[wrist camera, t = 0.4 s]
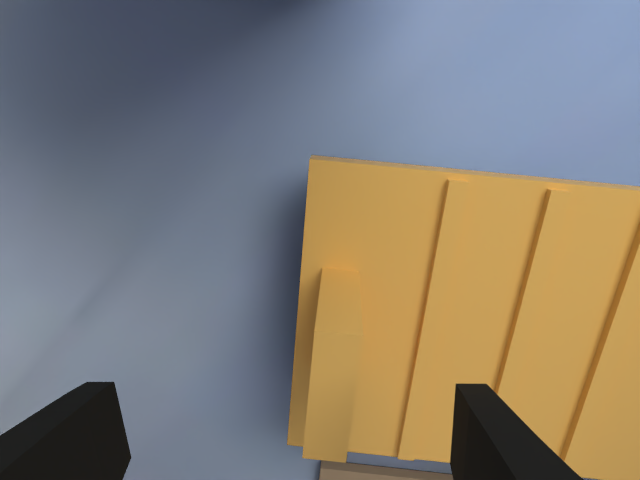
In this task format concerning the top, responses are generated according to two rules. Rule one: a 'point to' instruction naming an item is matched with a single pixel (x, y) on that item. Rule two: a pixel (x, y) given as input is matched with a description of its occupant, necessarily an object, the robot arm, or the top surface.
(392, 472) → the mat
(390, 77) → the top surface
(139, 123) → the top surface
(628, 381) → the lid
